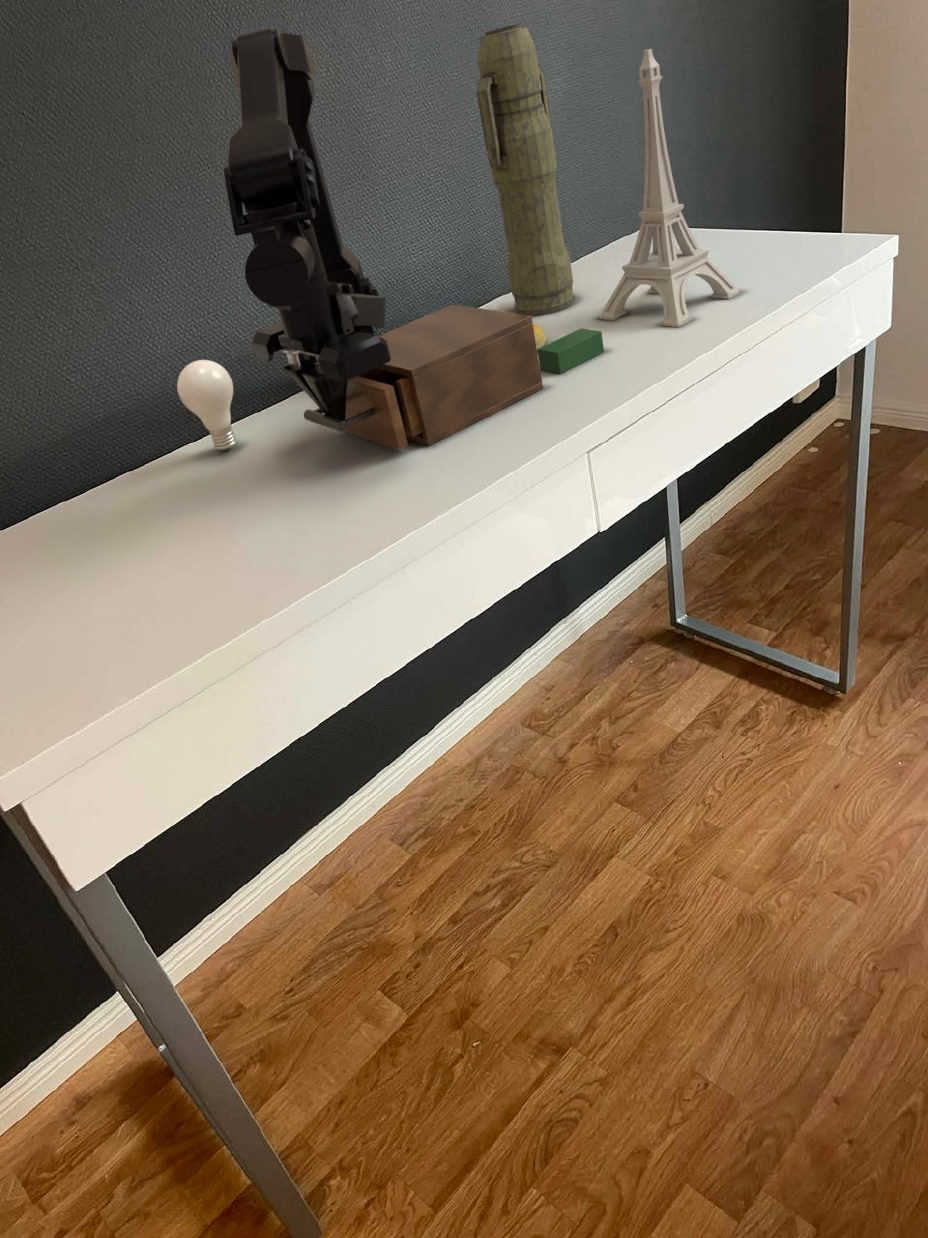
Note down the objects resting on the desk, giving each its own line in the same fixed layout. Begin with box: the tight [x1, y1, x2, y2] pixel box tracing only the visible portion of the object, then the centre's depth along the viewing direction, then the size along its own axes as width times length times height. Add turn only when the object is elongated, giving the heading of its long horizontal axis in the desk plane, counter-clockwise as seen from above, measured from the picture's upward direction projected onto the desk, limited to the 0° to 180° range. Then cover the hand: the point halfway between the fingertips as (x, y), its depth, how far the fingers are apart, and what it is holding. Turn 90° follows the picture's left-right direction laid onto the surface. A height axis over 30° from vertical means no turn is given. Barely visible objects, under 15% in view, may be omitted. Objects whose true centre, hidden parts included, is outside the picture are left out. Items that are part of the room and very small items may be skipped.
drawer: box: [303, 368, 422, 450], centre depth 109 cm, size 21×13×7 cm, turn 129°
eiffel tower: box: [597, 48, 742, 328], centre depth 120 cm, size 13×13×30 cm
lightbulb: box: [176, 359, 237, 452], centre depth 114 cm, size 6×6×11 cm
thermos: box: [476, 23, 576, 316], centre depth 130 cm, size 9×12×35 cm
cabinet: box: [376, 303, 544, 447], centre depth 111 cm, size 17×15×9 cm
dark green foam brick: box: [537, 327, 605, 374], centre depth 117 cm, size 8×4×3 cm, turn 129°
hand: (339, 423), depth 105 cm, fingers closed
